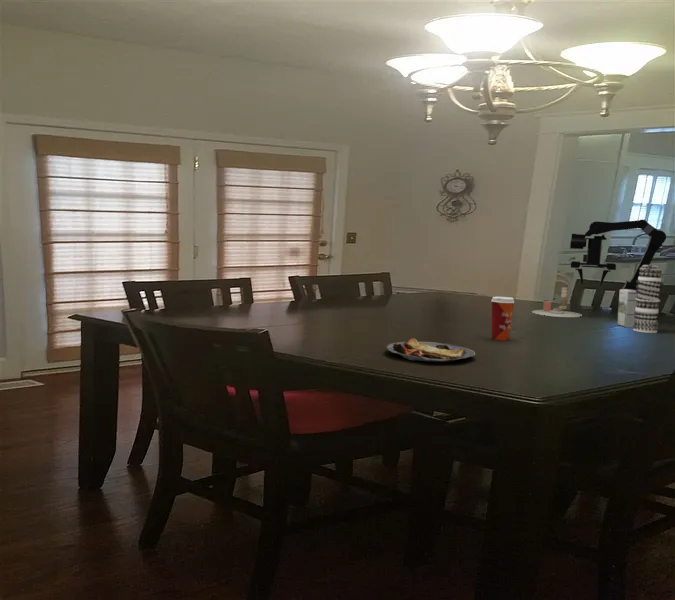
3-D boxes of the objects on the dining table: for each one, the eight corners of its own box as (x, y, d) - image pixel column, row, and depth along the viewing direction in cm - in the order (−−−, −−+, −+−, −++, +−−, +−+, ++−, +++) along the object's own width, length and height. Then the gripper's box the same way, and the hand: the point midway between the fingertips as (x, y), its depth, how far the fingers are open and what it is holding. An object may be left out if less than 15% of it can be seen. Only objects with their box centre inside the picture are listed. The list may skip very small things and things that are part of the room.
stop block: (550, 312, 295) (551, 302, 295) (544, 311, 295) (545, 302, 295) (548, 311, 298) (549, 301, 298) (543, 311, 298) (543, 301, 298)
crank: (559, 310, 288) (561, 289, 287) (553, 310, 290) (554, 288, 289) (567, 308, 298) (569, 287, 297) (561, 307, 300) (562, 287, 299)
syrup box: (638, 327, 258) (641, 290, 256) (624, 327, 257) (627, 290, 255) (629, 325, 263) (632, 289, 262) (616, 324, 262) (619, 288, 261)
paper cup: (505, 342, 214) (508, 299, 212) (484, 338, 219) (487, 297, 217) (516, 339, 220) (519, 298, 218) (495, 336, 225) (498, 295, 223)
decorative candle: (638, 332, 244) (644, 265, 241) (627, 328, 254) (633, 263, 251) (662, 333, 245) (669, 266, 242) (650, 329, 254) (656, 264, 251)
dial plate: (589, 318, 280) (589, 315, 279) (540, 316, 280) (540, 313, 280) (572, 311, 300) (572, 308, 300) (526, 309, 301) (526, 306, 300)
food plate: (370, 354, 186) (371, 341, 186) (412, 344, 205) (413, 333, 204) (448, 371, 171) (449, 358, 171) (487, 359, 190) (488, 347, 189)
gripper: (615, 250, 296) (612, 284, 298) (572, 248, 302) (569, 282, 304) (617, 251, 286) (614, 286, 287) (572, 249, 292) (569, 283, 294)
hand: (591, 284), depth 293 cm, fingers open, 7 cm apart
